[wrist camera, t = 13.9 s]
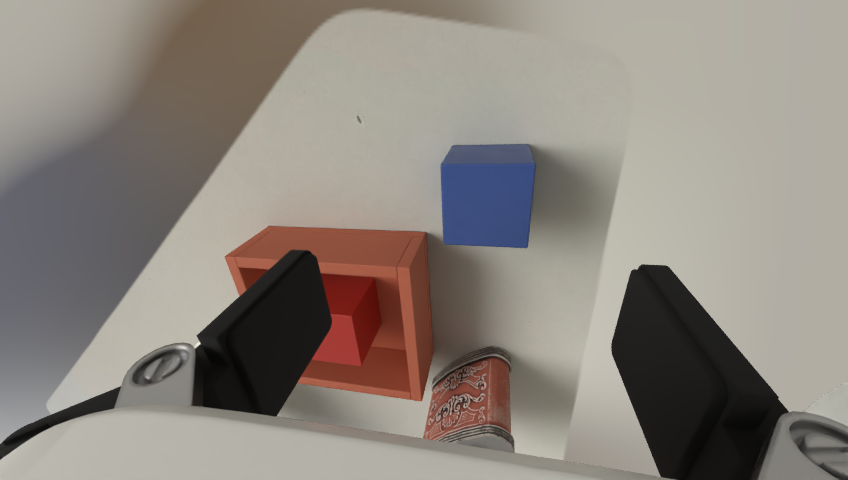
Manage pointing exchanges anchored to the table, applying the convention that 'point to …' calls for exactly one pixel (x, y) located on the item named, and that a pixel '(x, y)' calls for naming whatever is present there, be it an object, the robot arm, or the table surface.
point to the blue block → (487, 195)
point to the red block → (350, 319)
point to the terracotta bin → (397, 295)
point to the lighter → (473, 402)
